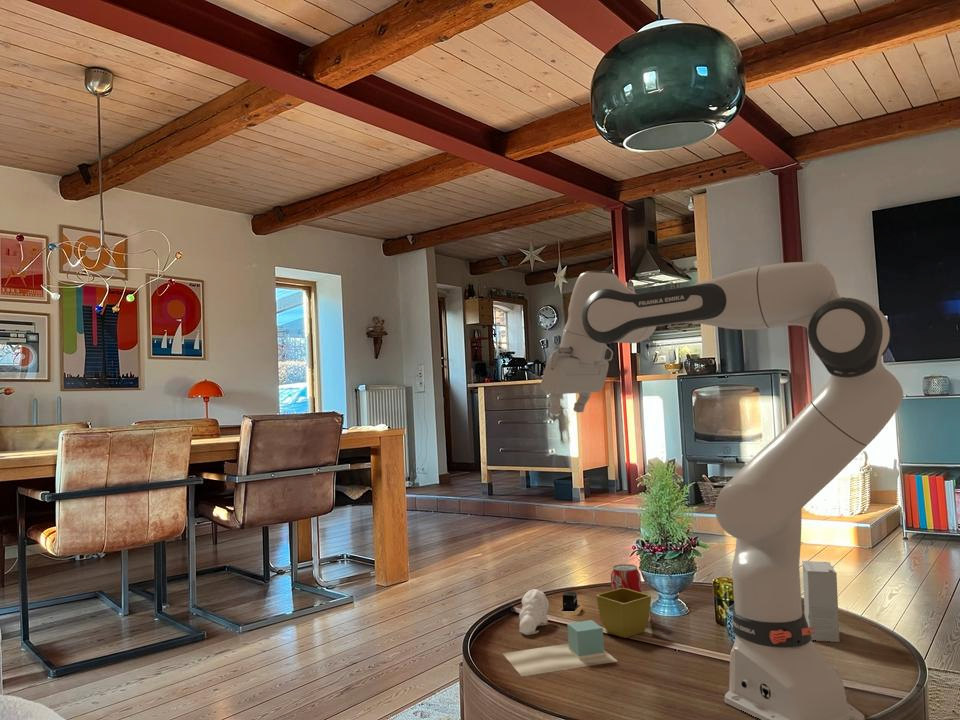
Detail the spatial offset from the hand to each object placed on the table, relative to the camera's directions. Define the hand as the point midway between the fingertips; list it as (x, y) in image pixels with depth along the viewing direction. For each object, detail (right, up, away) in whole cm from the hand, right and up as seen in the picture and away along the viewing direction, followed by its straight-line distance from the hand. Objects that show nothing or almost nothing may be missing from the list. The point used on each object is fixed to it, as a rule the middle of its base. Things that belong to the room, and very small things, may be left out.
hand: (566, 412), depth 149 cm
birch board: (-2, -50, -4) cm, 50 cm away
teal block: (+4, -49, -3) cm, 49 cm away
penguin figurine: (-6, -52, +15) cm, 54 cm away
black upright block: (+5, -52, +30) cm, 60 cm away
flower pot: (+14, -50, +9) cm, 53 cm away
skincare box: (+55, -48, +3) cm, 73 cm away
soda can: (+17, -51, +21) cm, 57 cm away
